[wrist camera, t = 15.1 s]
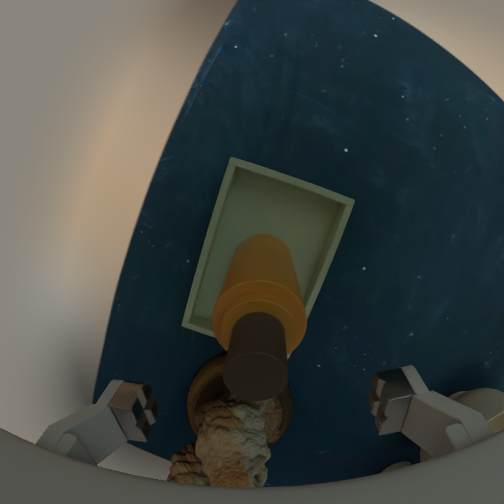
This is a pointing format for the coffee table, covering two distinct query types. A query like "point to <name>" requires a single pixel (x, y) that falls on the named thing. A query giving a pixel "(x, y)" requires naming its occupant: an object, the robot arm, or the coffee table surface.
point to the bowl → (480, 408)
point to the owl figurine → (228, 433)
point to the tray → (266, 232)
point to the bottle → (259, 318)
